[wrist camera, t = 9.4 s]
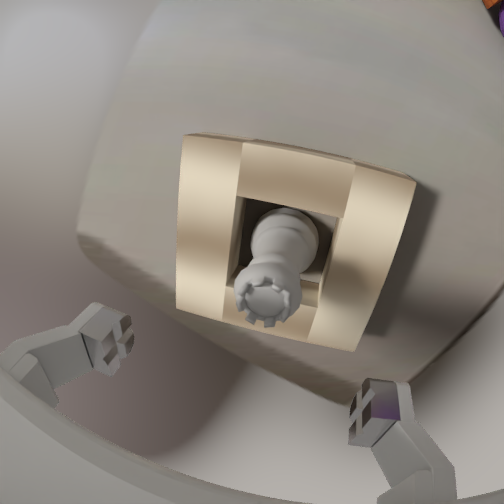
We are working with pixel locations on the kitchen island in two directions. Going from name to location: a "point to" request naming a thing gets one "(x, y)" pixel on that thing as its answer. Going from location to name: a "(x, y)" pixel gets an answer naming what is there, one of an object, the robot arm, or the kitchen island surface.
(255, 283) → the rook chess piece
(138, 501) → the robot arm
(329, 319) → the square wooden frame
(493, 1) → the purple maraca
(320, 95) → the kitchen island surface
